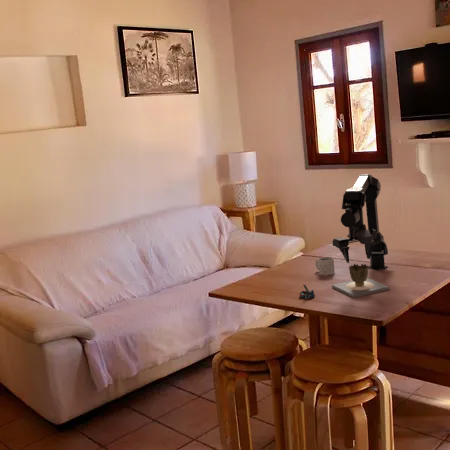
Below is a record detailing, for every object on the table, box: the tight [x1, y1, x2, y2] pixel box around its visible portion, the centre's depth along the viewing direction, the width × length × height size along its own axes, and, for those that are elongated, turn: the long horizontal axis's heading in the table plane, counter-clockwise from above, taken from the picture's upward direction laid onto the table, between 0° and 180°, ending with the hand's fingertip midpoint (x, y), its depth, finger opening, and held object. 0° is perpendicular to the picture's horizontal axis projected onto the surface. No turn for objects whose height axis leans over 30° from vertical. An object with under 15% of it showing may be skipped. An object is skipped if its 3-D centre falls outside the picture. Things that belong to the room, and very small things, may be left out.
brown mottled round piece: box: [348, 263, 369, 286], centre depth 231 cm, size 8×7×8 cm
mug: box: [315, 256, 336, 277], centre depth 259 cm, size 10×7×7 cm, turn 33°
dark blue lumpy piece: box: [298, 284, 316, 301], centre depth 229 cm, size 8×7×8 cm
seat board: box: [331, 277, 390, 299], centre depth 232 cm, size 16×16×1 cm
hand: (358, 260), depth 230 cm, fingers open, 9 cm apart
